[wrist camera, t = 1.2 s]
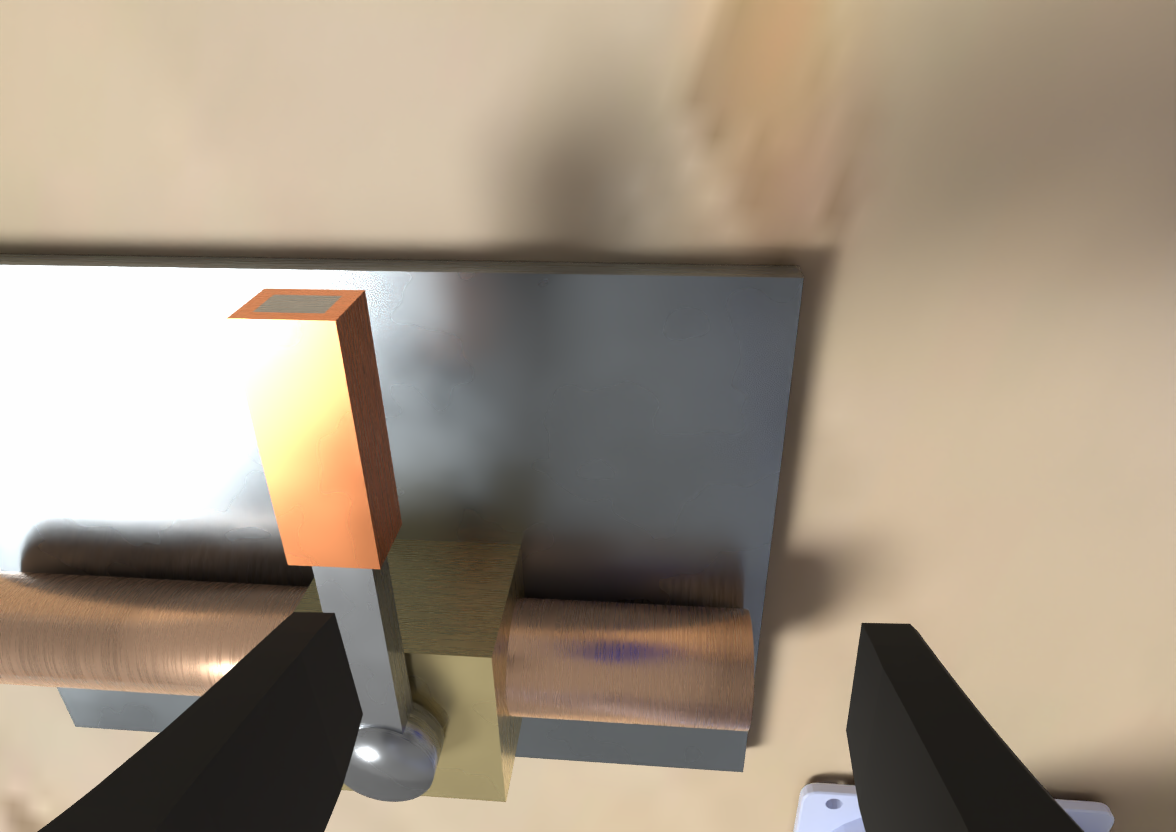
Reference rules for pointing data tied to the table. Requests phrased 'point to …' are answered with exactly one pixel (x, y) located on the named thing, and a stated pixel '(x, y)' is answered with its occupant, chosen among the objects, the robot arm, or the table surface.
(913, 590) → the table surface
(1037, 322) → the table surface
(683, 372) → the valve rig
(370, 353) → the valve lever
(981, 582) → the table surface
